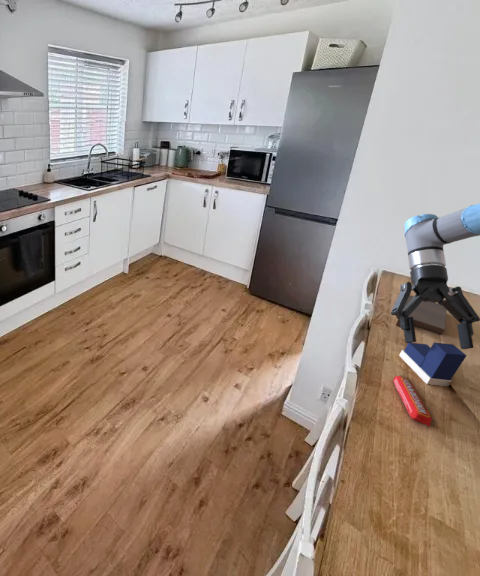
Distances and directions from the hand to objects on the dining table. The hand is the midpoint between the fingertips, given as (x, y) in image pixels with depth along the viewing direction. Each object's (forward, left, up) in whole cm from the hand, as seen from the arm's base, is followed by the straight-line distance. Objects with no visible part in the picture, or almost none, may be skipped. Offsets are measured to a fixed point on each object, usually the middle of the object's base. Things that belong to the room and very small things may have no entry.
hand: (438, 345), depth 95 cm
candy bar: (+9, +16, -9) cm, 20 cm away
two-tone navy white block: (0, 0, -9) cm, 9 cm away
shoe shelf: (-11, -31, -9) cm, 34 cm away
